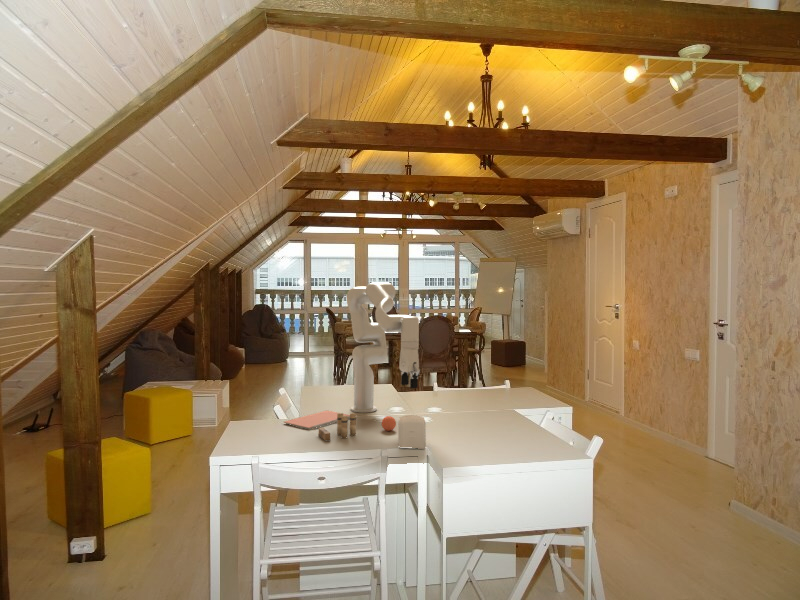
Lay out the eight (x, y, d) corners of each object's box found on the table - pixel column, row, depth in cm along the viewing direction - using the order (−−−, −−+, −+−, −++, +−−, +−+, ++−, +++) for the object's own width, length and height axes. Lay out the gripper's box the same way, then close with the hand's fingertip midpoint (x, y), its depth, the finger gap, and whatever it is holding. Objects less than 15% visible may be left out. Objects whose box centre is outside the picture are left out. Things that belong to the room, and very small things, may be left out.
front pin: (348, 434, 218) (349, 413, 217) (354, 433, 219) (354, 412, 218) (350, 435, 215) (351, 414, 215) (356, 435, 216) (356, 414, 216)
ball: (379, 429, 225) (379, 415, 225) (392, 428, 228) (392, 414, 228) (385, 433, 220) (385, 418, 220) (398, 431, 222) (398, 417, 222)
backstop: (318, 435, 215) (318, 428, 215) (323, 434, 216) (323, 427, 216) (325, 441, 207) (325, 433, 207) (330, 440, 208) (330, 433, 208)
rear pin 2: (340, 437, 213) (340, 415, 213) (346, 436, 214) (346, 415, 214) (342, 438, 211) (342, 417, 211) (348, 438, 212) (348, 416, 212)
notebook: (310, 432, 222) (310, 427, 222) (283, 425, 232) (283, 421, 232) (353, 419, 244) (353, 415, 244) (326, 413, 254) (326, 409, 254)
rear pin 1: (336, 433, 218) (336, 413, 218) (342, 433, 219) (342, 412, 219) (338, 435, 216) (338, 414, 215) (344, 434, 217) (344, 414, 216)
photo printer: (398, 449, 198) (398, 416, 198) (398, 446, 202) (398, 413, 202) (425, 450, 198) (426, 416, 197) (425, 446, 202) (425, 414, 202)
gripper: (393, 343, 233) (392, 383, 234) (411, 347, 218) (410, 390, 218) (408, 342, 236) (408, 382, 237) (427, 347, 221) (426, 389, 221)
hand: (409, 386), depth 227 cm, fingers open, 7 cm apart
